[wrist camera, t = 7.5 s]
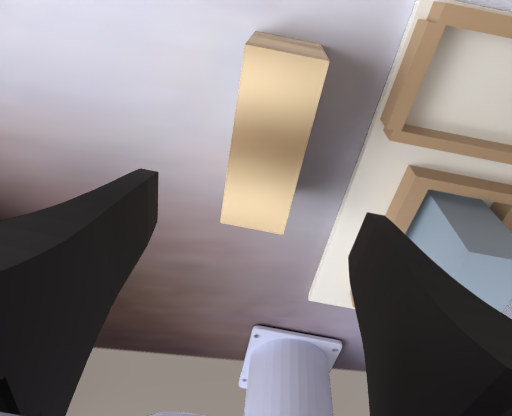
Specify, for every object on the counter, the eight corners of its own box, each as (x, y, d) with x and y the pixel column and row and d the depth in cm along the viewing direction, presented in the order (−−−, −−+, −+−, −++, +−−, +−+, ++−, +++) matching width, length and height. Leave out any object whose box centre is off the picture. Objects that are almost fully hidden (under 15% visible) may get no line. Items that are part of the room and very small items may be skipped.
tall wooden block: (284, 189, 23) (283, 234, 19) (232, 179, 23) (220, 222, 19) (320, 44, 18) (329, 61, 14) (255, 31, 18) (244, 44, 14)
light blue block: (426, 289, 26) (459, 362, 21) (380, 281, 26) (402, 352, 21) (481, 199, 21) (540, 264, 16) (426, 189, 21) (468, 251, 16)
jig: (459, 322, 28) (470, 345, 26) (308, 294, 28) (309, 315, 26) (670, 45, 17) (714, 52, 15) (418, -7, 17) (434, -6, 15)
